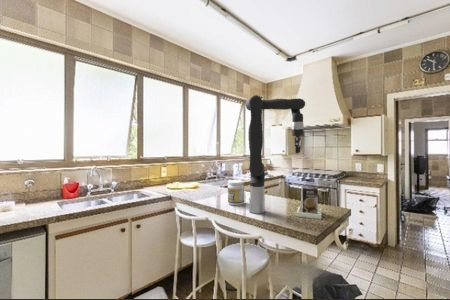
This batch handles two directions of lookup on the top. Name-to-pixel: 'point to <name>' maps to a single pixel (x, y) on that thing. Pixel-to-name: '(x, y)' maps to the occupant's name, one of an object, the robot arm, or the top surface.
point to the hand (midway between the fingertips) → (297, 152)
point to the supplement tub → (236, 192)
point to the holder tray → (309, 214)
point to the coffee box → (309, 200)
